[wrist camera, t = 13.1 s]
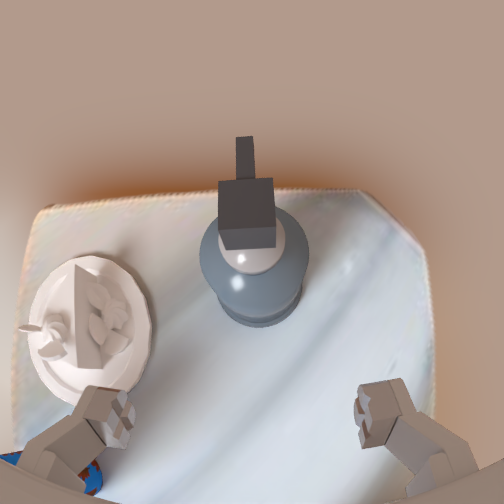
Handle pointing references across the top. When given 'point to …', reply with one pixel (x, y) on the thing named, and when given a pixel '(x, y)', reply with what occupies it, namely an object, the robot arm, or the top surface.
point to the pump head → (246, 204)
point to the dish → (89, 328)
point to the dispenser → (257, 273)
